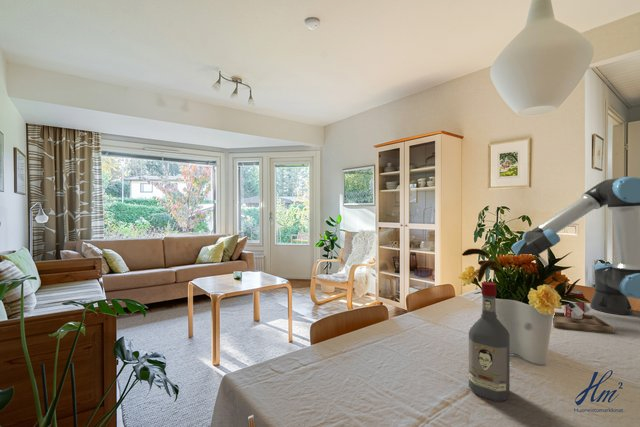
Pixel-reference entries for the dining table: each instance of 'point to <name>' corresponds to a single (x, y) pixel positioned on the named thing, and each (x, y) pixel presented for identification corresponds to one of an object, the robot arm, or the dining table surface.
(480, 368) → the liquor
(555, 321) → the walnut tray
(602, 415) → the dining table surface
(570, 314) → the soda can
